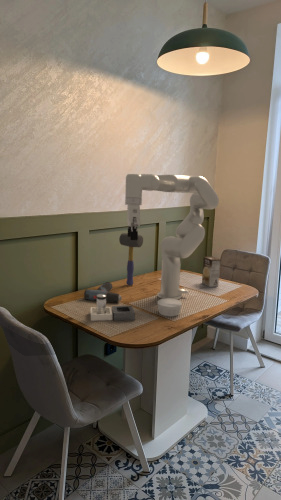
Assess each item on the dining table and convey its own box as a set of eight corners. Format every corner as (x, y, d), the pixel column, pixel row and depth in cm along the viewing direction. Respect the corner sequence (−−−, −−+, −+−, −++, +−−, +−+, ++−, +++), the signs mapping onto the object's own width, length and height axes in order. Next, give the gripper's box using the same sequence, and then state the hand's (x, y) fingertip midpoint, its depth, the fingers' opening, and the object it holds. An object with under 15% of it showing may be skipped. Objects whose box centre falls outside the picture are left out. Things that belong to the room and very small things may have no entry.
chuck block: (131, 312, 162) (131, 305, 161) (134, 320, 153) (134, 312, 153) (111, 313, 160) (111, 306, 160) (113, 320, 152) (113, 313, 151)
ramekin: (163, 319, 156) (164, 307, 155) (152, 310, 166) (153, 299, 165) (185, 316, 161) (186, 304, 160) (173, 307, 171) (174, 297, 170)
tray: (110, 312, 161) (110, 306, 161) (112, 320, 153) (112, 314, 152) (90, 312, 160) (90, 307, 159) (91, 320, 151) (91, 314, 151)
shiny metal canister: (105, 313, 159) (106, 293, 157) (106, 316, 154) (106, 296, 153) (96, 313, 158) (96, 293, 156) (96, 317, 154) (96, 297, 152)
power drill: (131, 293, 191) (119, 305, 172) (98, 289, 196) (83, 301, 177) (131, 283, 190) (119, 294, 171) (98, 280, 195) (83, 290, 176)
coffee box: (201, 282, 215) (203, 256, 212) (210, 282, 217) (212, 256, 214) (209, 287, 207) (211, 260, 204) (219, 286, 209) (221, 259, 206)
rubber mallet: (142, 286, 204) (144, 233, 198) (135, 289, 198) (137, 235, 192) (124, 282, 210) (126, 231, 205) (117, 285, 204) (118, 232, 198)
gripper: (144, 202, 156) (143, 241, 159) (138, 200, 173) (137, 235, 176) (127, 202, 155) (126, 241, 158) (123, 200, 172) (122, 235, 175)
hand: (132, 238), depth 167 cm, fingers open, 9 cm apart
